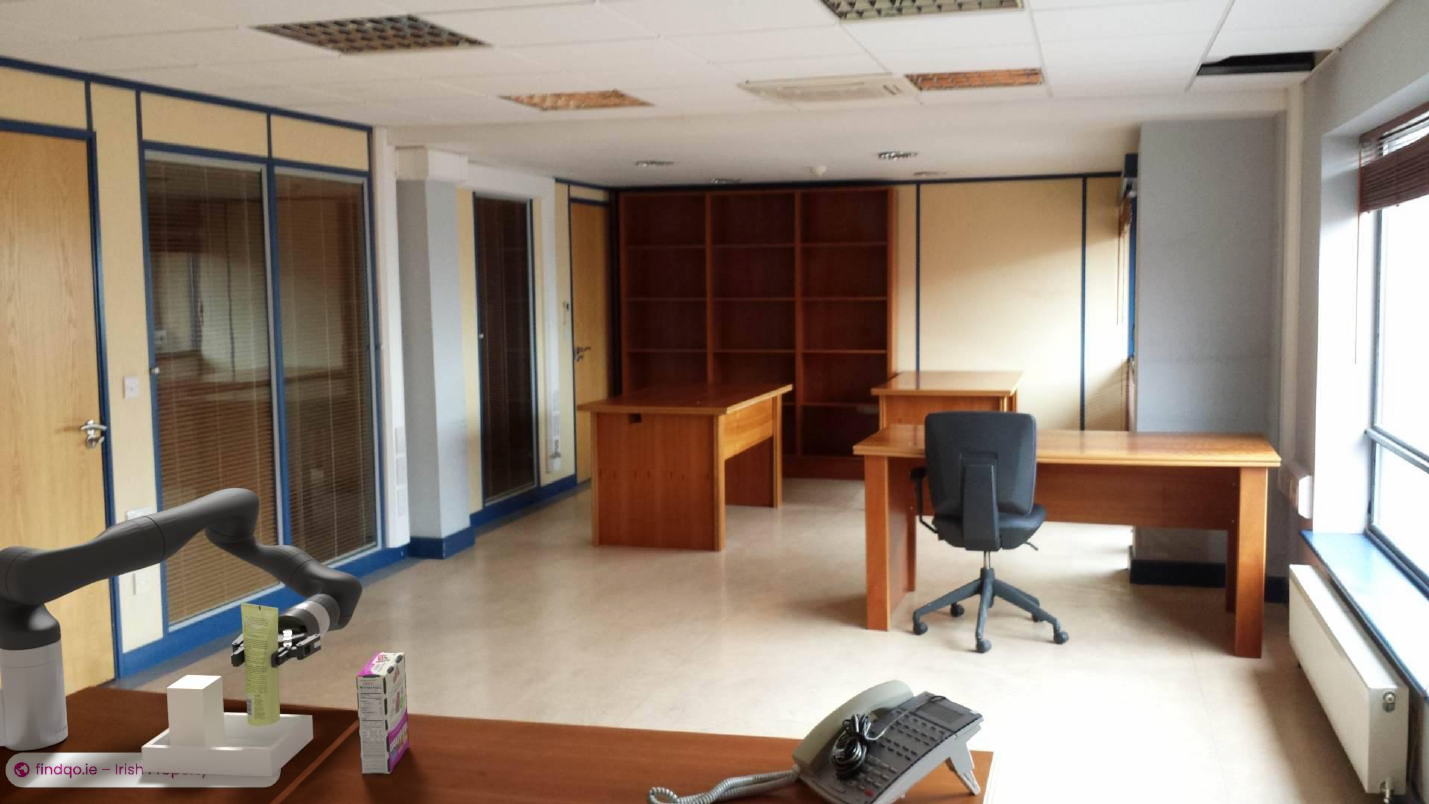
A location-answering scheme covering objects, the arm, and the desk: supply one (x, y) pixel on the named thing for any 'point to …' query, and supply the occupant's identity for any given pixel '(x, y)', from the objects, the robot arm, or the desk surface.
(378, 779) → the desk surface
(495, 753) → the desk surface
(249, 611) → the tube
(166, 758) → the tote
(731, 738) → the desk surface
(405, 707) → the candy bar box
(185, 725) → the carton
